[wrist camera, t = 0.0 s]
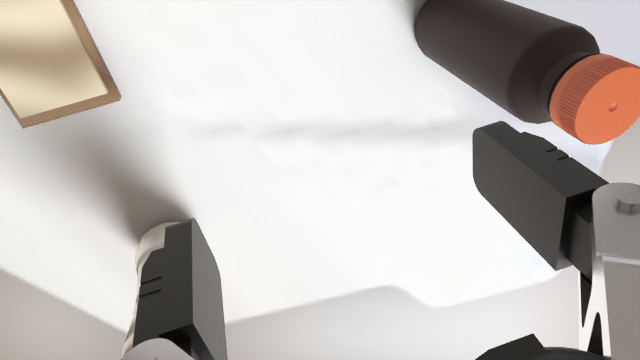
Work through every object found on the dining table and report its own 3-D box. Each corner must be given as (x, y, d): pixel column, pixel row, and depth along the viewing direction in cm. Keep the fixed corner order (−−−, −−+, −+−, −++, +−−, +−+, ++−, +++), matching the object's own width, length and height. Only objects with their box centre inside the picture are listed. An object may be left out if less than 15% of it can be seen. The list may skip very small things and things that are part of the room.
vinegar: (488, -14, 41) (688, 47, 25) (470, 59, 45) (634, 155, 28) (420, -17, 39) (586, 48, 23) (407, 60, 43) (543, 162, 27)
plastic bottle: (216, 237, 49) (231, 412, 32) (169, 272, 49) (160, 459, 33) (173, 202, 45) (164, 378, 29) (123, 240, 46) (87, 433, 30)
